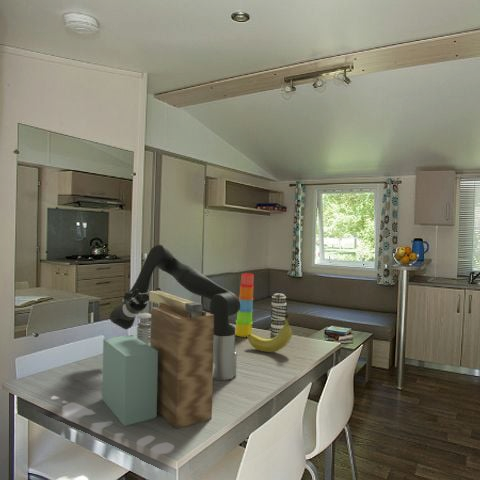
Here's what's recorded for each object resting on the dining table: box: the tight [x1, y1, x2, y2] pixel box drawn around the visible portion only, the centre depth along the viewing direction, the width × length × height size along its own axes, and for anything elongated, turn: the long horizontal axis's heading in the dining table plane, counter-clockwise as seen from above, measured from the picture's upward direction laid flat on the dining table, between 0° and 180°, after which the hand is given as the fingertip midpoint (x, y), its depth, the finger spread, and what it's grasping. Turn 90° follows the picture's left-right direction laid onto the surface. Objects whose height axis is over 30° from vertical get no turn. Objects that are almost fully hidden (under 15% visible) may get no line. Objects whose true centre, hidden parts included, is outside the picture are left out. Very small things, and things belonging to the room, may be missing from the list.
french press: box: [136, 312, 151, 346], centre depth 201 cm, size 10×12×25 cm
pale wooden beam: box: [148, 290, 203, 317], centre depth 130 cm, size 4×32×4 cm, turn 35°
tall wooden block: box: [150, 303, 214, 430], centre depth 126 cm, size 12×20×33 cm, turn 35°
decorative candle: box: [269, 292, 288, 339], centre depth 213 cm, size 9×9×25 cm
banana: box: [247, 312, 293, 353], centre depth 191 cm, size 23×6×20 cm, turn 62°
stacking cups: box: [235, 273, 255, 338], centre depth 222 cm, size 10×10×35 cm
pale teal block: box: [101, 334, 158, 427], centre depth 127 cm, size 10×22×20 cm, turn 35°
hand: (148, 290), depth 148 cm, fingers open, 8 cm apart
